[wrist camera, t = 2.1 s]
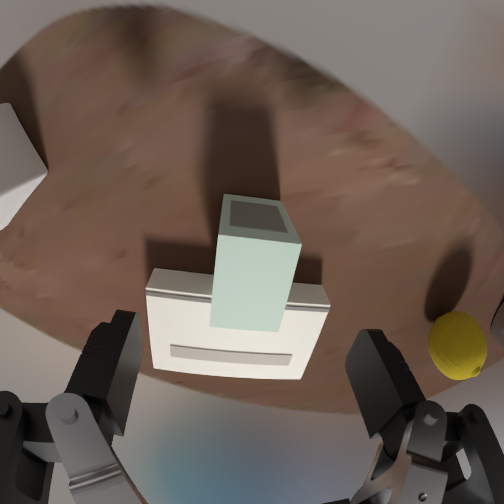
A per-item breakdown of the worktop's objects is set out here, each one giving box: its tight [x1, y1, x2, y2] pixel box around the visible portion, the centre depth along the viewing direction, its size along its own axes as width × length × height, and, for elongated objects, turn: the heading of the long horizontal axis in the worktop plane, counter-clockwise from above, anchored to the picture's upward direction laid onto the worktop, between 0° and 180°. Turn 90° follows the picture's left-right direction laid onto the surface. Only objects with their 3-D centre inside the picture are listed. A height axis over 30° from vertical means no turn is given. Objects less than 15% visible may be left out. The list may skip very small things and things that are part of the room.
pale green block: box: [209, 194, 302, 332], centre depth 16 cm, size 4×5×6 cm
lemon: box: [428, 311, 487, 380], centre depth 20 cm, size 6×6×8 cm
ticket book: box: [146, 268, 330, 379], centre depth 21 cm, size 12×8×2 cm, turn 81°
